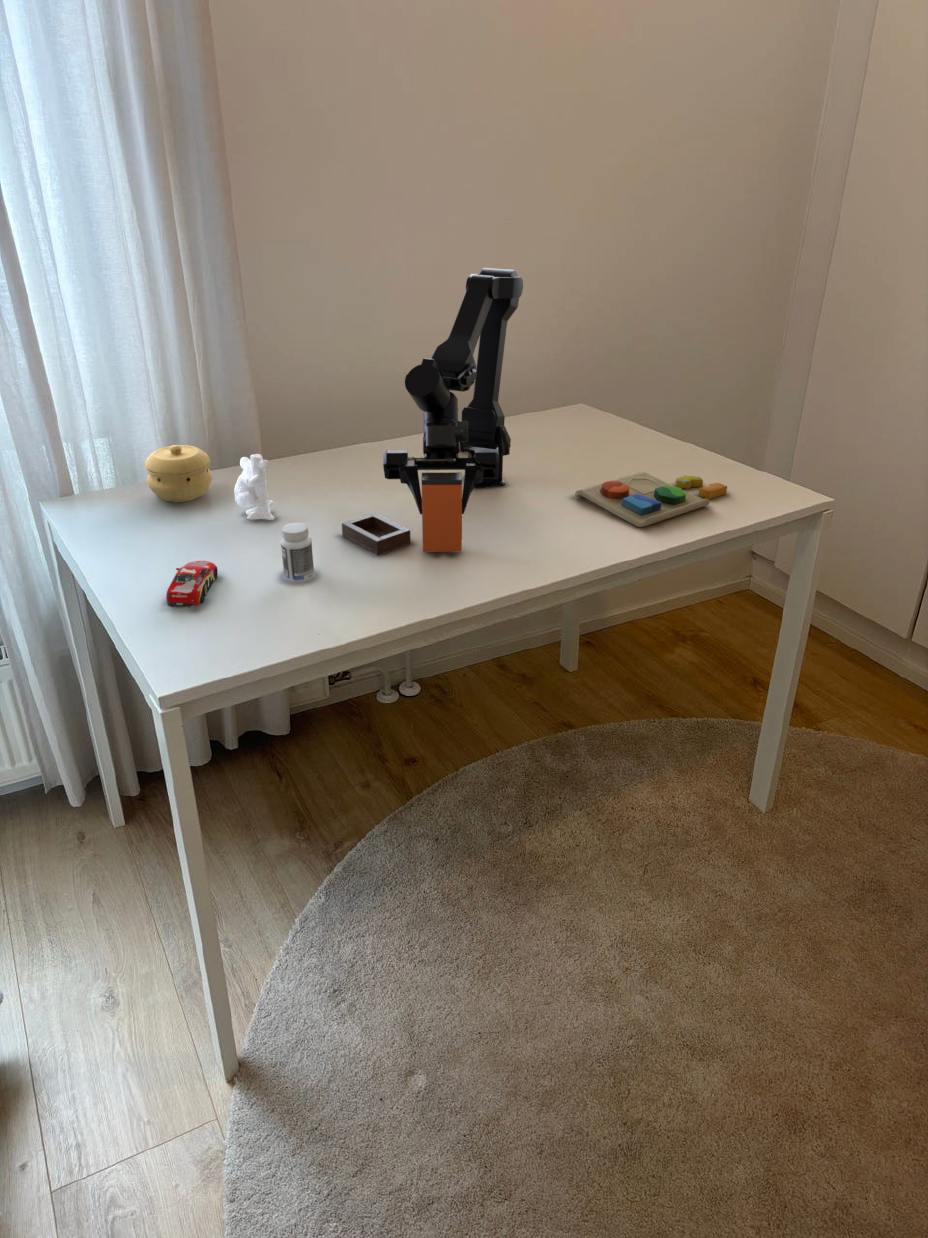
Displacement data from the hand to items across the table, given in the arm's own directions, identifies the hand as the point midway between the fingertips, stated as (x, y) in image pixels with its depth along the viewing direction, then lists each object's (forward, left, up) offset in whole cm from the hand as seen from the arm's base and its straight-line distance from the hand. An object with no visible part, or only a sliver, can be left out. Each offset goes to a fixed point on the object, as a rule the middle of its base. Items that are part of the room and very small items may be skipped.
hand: (441, 513), depth 154 cm
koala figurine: (+28, -24, -8) cm, 38 cm away
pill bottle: (+24, +2, -8) cm, 25 cm away
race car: (+40, +3, -8) cm, 41 cm away
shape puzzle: (-45, -13, -8) cm, 47 cm away
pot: (+41, -37, -8) cm, 56 cm away
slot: (+9, -9, -7) cm, 15 cm away
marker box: (0, -1, -7) cm, 7 cm away
